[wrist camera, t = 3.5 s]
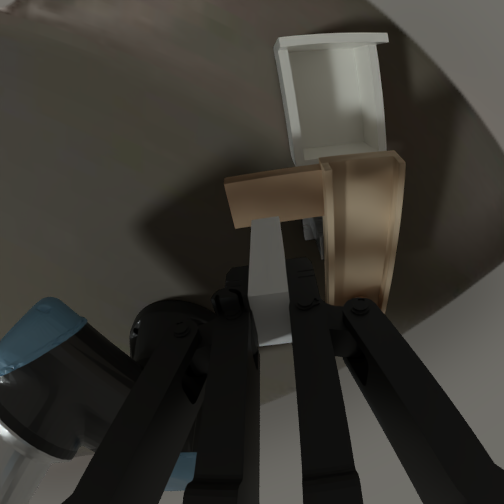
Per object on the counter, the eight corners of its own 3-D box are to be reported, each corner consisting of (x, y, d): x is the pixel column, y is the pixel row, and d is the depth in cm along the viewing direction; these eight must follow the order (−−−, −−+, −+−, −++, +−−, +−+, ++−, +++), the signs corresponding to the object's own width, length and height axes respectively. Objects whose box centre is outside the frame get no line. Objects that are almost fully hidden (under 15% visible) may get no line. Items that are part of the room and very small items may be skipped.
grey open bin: (291, 156, 33) (301, 180, 26) (273, 47, 27) (278, 37, 20) (370, 147, 32) (399, 169, 25) (358, 41, 26) (387, 32, 19)
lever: (373, 291, 35) (384, 325, 31) (260, 308, 36) (262, 344, 33) (384, 140, 24) (409, 166, 20) (224, 160, 25) (220, 190, 21)
